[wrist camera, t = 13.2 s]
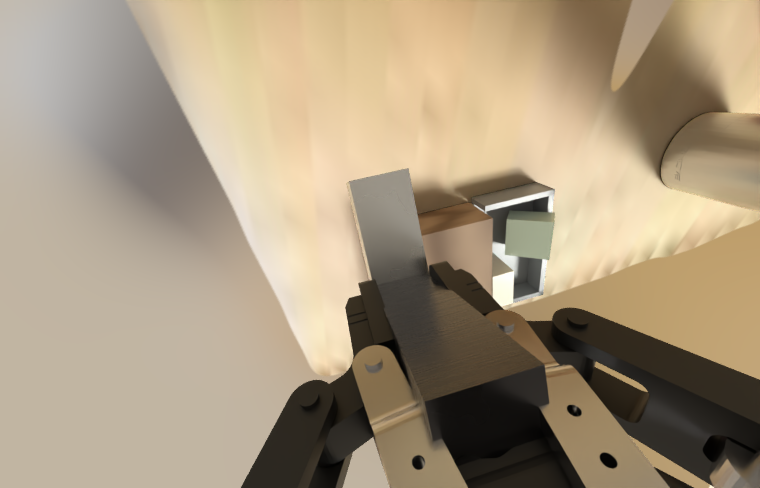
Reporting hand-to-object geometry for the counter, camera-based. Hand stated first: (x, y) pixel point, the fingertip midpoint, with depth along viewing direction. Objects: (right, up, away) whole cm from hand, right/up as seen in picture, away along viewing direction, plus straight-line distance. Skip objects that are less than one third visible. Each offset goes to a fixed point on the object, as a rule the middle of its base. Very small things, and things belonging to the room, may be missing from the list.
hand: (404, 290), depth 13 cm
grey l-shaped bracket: (0, -1, +3) cm, 3 cm away
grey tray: (+14, +2, +25) cm, 28 cm away
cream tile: (+11, -3, +23) cm, 25 cm away
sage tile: (+15, +2, +20) cm, 25 cm away
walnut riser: (+6, 0, +24) cm, 24 cm away
